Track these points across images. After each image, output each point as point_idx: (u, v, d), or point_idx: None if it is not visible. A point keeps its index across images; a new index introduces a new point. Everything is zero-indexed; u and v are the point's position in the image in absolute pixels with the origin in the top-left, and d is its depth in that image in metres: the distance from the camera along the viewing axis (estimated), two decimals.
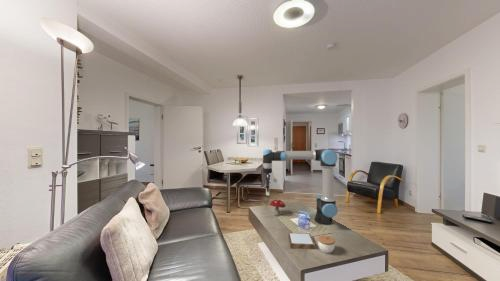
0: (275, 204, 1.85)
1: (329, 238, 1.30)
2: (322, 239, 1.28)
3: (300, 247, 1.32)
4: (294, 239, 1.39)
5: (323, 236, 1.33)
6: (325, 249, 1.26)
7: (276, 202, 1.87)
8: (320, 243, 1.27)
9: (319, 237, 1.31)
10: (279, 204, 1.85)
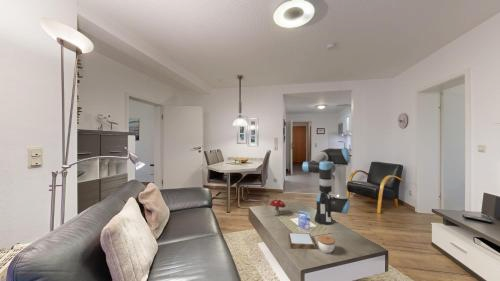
0: (275, 204, 1.85)
1: (329, 238, 1.30)
2: (322, 239, 1.28)
3: (300, 247, 1.32)
4: (294, 239, 1.39)
5: (323, 236, 1.33)
6: (325, 249, 1.26)
7: (276, 202, 1.87)
8: (320, 243, 1.27)
9: (319, 237, 1.31)
10: (279, 204, 1.85)
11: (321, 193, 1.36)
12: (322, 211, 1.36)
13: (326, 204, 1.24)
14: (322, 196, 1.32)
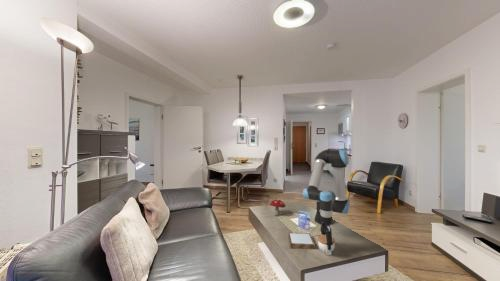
0: (275, 204, 1.85)
1: None
2: (322, 239, 1.28)
3: (300, 247, 1.32)
4: (294, 239, 1.39)
5: (323, 236, 1.33)
6: (325, 249, 1.26)
7: (276, 202, 1.87)
8: (320, 243, 1.27)
9: (319, 237, 1.31)
10: (279, 204, 1.85)
11: (322, 223, 1.35)
12: None
13: (326, 236, 1.25)
14: (323, 226, 1.32)
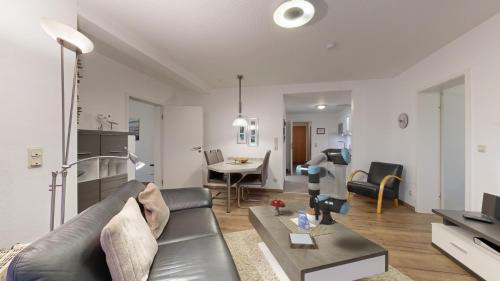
0: (275, 204, 1.85)
1: None
2: (311, 211, 1.33)
3: (300, 247, 1.32)
4: (294, 239, 1.39)
5: (311, 209, 1.37)
6: (313, 220, 1.30)
7: (276, 202, 1.87)
8: (308, 215, 1.32)
9: (307, 210, 1.36)
10: (279, 204, 1.85)
11: (310, 197, 1.40)
12: None
13: (314, 208, 1.29)
14: (311, 199, 1.36)
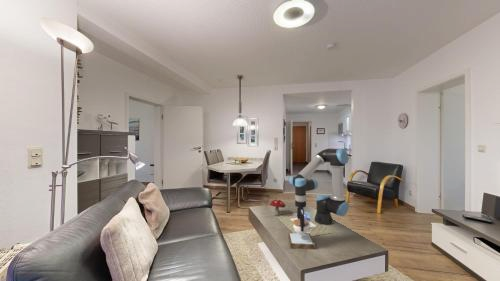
0: (275, 204, 1.85)
1: None
2: (297, 222, 1.39)
3: (300, 247, 1.32)
4: (294, 239, 1.39)
5: (298, 220, 1.43)
6: (299, 231, 1.36)
7: (276, 202, 1.87)
8: (294, 225, 1.38)
9: (294, 221, 1.42)
10: (279, 204, 1.85)
11: (297, 208, 1.46)
12: None
13: (300, 219, 1.35)
14: (298, 211, 1.42)
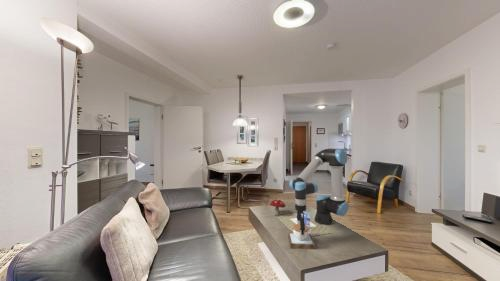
0: (275, 204, 1.85)
1: None
2: (297, 227, 1.39)
3: (300, 247, 1.32)
4: (294, 239, 1.39)
5: (298, 225, 1.43)
6: (299, 236, 1.36)
7: (276, 202, 1.87)
8: (294, 231, 1.38)
9: (294, 226, 1.42)
10: (279, 204, 1.85)
11: (297, 211, 1.46)
12: None
13: (300, 222, 1.34)
14: (298, 214, 1.42)
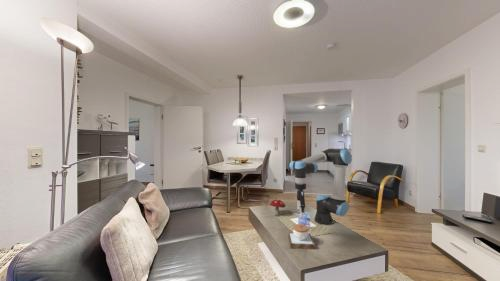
0: (275, 204, 1.85)
1: (303, 226, 1.41)
2: (297, 227, 1.39)
3: (300, 247, 1.32)
4: (294, 239, 1.39)
5: (298, 225, 1.43)
6: (299, 236, 1.36)
7: (276, 202, 1.87)
8: (294, 231, 1.38)
9: (294, 226, 1.42)
10: (279, 204, 1.85)
11: (297, 190, 1.46)
12: (298, 207, 1.47)
13: (300, 200, 1.35)
14: (298, 193, 1.43)
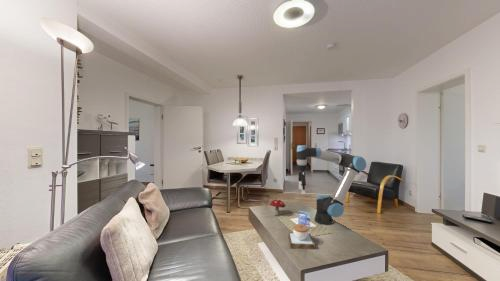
0: (275, 204, 1.85)
1: (303, 226, 1.41)
2: (297, 227, 1.39)
3: (300, 247, 1.32)
4: (294, 239, 1.39)
5: (298, 225, 1.43)
6: (299, 236, 1.36)
7: (276, 202, 1.87)
8: (294, 231, 1.38)
9: (294, 226, 1.42)
10: (279, 204, 1.85)
11: (299, 172, 1.63)
12: (300, 187, 1.64)
13: (301, 179, 1.52)
14: (299, 174, 1.59)
